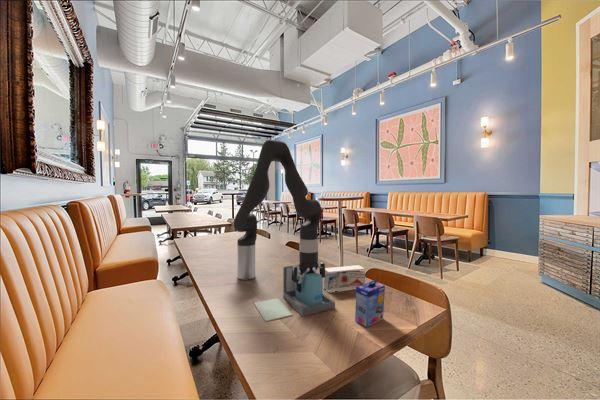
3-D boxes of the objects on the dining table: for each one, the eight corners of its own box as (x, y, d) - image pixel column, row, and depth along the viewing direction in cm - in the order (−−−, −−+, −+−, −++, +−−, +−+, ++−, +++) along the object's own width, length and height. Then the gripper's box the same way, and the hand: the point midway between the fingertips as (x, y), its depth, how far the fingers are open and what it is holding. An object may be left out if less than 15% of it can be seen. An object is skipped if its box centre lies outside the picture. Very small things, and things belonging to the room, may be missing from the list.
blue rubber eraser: (322, 306, 95) (322, 275, 94) (313, 309, 92) (313, 277, 92) (303, 295, 104) (303, 267, 104) (295, 298, 101) (295, 269, 101)
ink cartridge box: (367, 328, 80) (368, 284, 79) (354, 321, 84) (354, 279, 84) (385, 319, 86) (385, 278, 85) (371, 312, 90) (372, 274, 90)
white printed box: (327, 292, 108) (328, 271, 108) (323, 288, 114) (323, 268, 114) (367, 288, 114) (367, 268, 114) (360, 283, 120) (361, 264, 119)
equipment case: (283, 297, 103) (283, 266, 103) (312, 291, 110) (312, 262, 109) (302, 316, 87) (302, 280, 87) (335, 308, 93) (335, 274, 93)
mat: (253, 303, 97) (253, 302, 97) (277, 299, 101) (277, 298, 101) (265, 321, 83) (265, 320, 83) (292, 315, 88) (292, 314, 88)
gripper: (319, 246, 104) (319, 284, 104) (288, 249, 98) (288, 289, 98) (329, 249, 97) (328, 290, 98) (296, 253, 91) (296, 297, 91)
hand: (308, 290), depth 98 cm, fingers open, 8 cm apart
